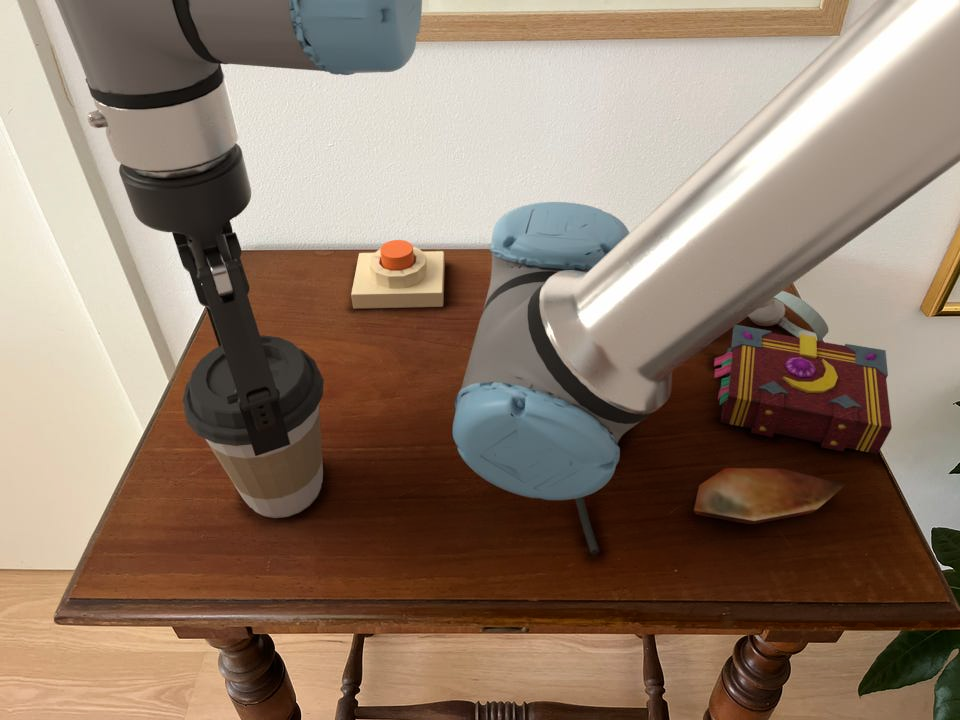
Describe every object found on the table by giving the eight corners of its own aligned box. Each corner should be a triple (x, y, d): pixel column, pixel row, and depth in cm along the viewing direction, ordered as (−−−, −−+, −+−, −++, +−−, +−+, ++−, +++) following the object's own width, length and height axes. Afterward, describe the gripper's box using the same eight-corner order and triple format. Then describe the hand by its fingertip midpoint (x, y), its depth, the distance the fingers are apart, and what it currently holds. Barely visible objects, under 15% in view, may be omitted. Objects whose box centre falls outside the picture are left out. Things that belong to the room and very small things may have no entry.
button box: (444, 265, 95) (443, 239, 93) (443, 306, 89) (441, 280, 86) (361, 266, 95) (357, 240, 93) (353, 308, 89) (349, 282, 86)
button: (415, 253, 91) (413, 239, 90) (413, 271, 88) (412, 257, 87) (383, 253, 91) (381, 239, 90) (380, 272, 88) (378, 258, 87)
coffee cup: (353, 442, 72) (330, 326, 62) (333, 539, 64) (302, 424, 54) (241, 441, 73) (200, 326, 63) (206, 537, 64) (152, 422, 54)
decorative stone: (864, 517, 62) (853, 542, 63) (842, 473, 66) (832, 498, 68) (697, 502, 62) (691, 527, 64) (687, 460, 67) (682, 484, 69)
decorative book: (878, 460, 70) (896, 425, 66) (706, 425, 74) (715, 390, 70) (870, 380, 78) (887, 345, 74) (715, 352, 82) (724, 318, 78)
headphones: (709, 270, 95) (843, 336, 80) (688, 293, 95) (819, 363, 80) (687, 232, 89) (826, 296, 75) (665, 256, 89) (801, 325, 75)
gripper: (98, 92, 53) (180, 318, 67) (141, 269, 36) (238, 520, 50) (203, 74, 55) (261, 297, 70) (288, 233, 39) (341, 482, 53)
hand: (251, 391), depth 60 cm, fingers open, 13 cm apart
